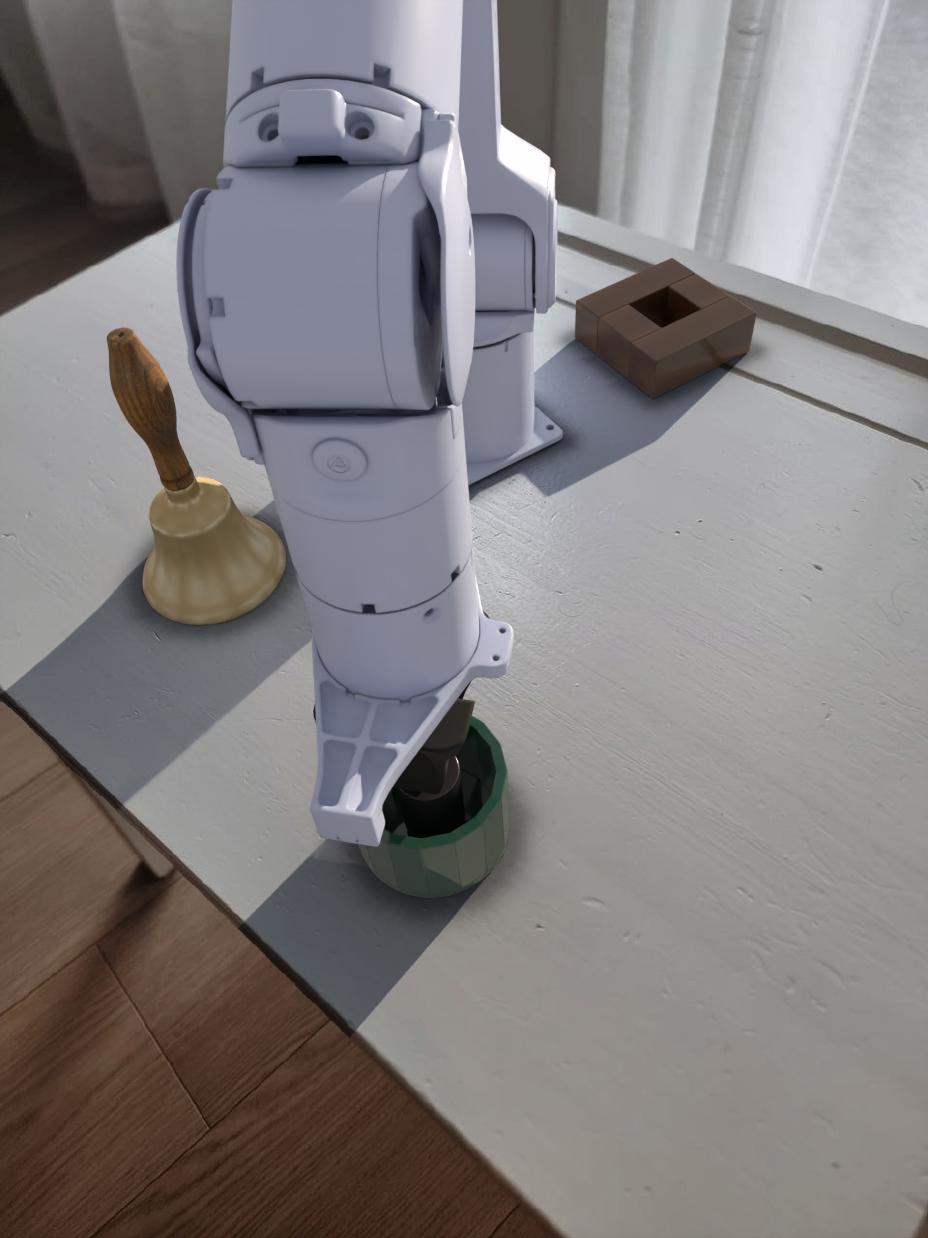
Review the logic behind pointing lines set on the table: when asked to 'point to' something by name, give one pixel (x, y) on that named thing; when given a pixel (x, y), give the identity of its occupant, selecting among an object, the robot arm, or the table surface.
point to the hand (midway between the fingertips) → (422, 765)
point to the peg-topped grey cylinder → (435, 806)
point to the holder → (677, 353)
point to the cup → (465, 850)
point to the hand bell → (190, 509)
